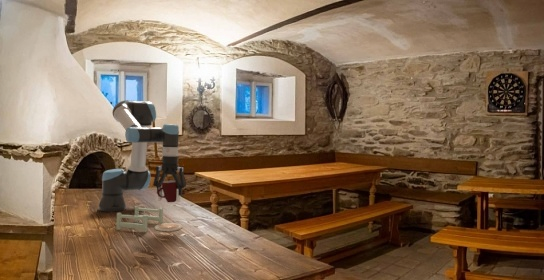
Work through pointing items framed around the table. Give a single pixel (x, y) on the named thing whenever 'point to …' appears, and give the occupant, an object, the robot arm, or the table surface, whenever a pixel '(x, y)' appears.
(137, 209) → the cradle
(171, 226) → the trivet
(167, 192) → the mug
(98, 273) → the table surface
